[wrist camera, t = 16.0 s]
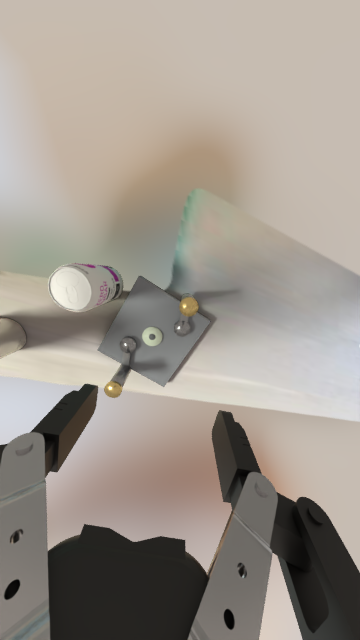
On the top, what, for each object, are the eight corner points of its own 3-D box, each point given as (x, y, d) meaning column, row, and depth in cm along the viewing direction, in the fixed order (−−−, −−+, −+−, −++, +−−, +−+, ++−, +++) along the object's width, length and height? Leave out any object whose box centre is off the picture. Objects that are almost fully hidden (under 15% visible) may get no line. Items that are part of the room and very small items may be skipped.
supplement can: (86, 268, 42) (36, 266, 28) (120, 263, 42) (88, 260, 27) (95, 301, 44) (52, 316, 30) (127, 298, 44) (100, 311, 29)
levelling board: (100, 347, 47) (96, 351, 45) (140, 275, 42) (138, 276, 40) (164, 382, 50) (163, 388, 48) (209, 319, 45) (210, 322, 43)
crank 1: (121, 335, 44) (107, 350, 36) (137, 338, 45) (126, 354, 36) (117, 372, 47) (102, 395, 38) (132, 375, 47) (121, 399, 38)
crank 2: (188, 336, 44) (190, 352, 35) (172, 333, 44) (170, 349, 35) (197, 293, 41) (201, 299, 33) (180, 290, 41) (180, 295, 32)
